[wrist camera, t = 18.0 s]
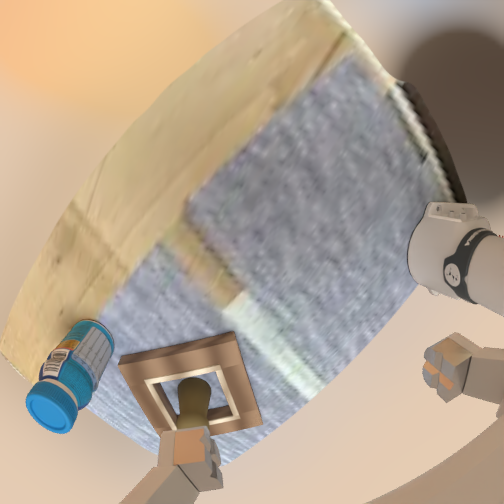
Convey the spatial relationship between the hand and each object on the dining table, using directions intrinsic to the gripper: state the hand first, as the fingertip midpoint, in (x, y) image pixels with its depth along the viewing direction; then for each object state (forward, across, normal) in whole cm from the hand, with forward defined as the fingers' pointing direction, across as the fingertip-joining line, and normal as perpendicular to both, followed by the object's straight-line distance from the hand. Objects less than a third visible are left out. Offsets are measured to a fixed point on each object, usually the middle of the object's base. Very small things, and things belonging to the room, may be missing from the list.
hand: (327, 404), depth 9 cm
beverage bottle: (+35, +28, +11) cm, 46 cm away
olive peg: (+35, +14, +25) cm, 45 cm away
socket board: (+35, +14, +25) cm, 45 cm away
